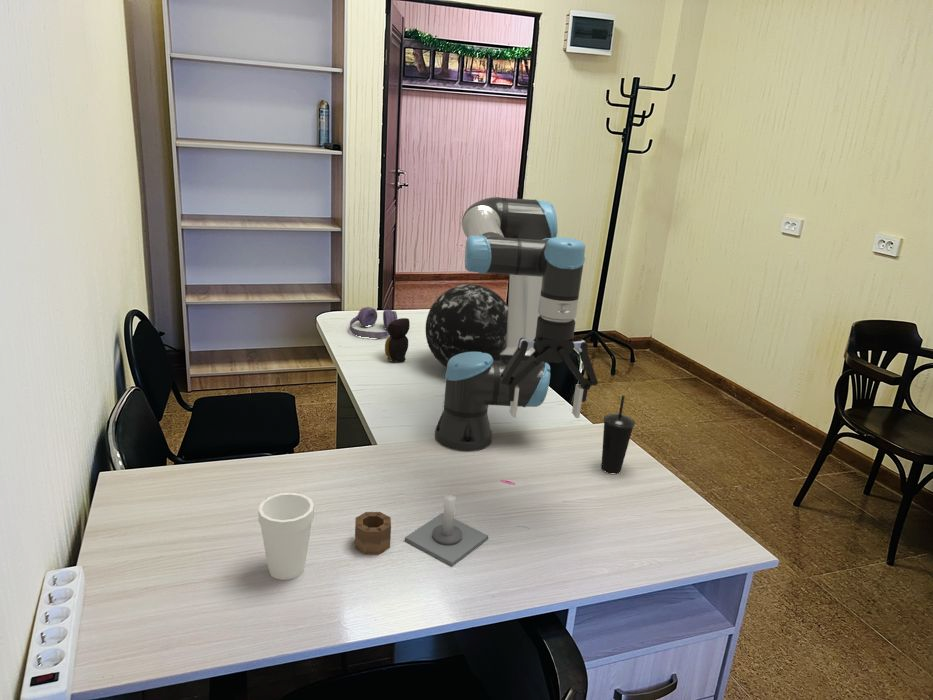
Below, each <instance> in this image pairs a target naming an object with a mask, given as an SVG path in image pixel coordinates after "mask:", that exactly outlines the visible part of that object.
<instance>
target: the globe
mask: <svg viewBox="0 0 933 700" xmlns="http://www.w3.org/2000/svg"><path fill="white" fill-rule="evenodd" d="M507 320H508V303H506V301H505V300H504V298H502V296H500V295H499V294H498V293H497V292H496V291H493V290H492V289H491V288H489V287H486V286H484V285H480V284H473V283H467V284H460V285H457V286H453V287H451V288H449V289H448V290H445V291H444V292H443V293H442V294H441V295H440V296H438V297H437V298H436V300H435V301H434V302H433V304H432V305H431V307H430V309H429V311H428V314H427V317H426V321H425V338H426V342H427V345H428V347H429V350H430V352H431V354H432V355H433V357H434V358H435V359H436V360H437V362H439V363H440V364H441V365H442V366H444V367H445V368H447V364H448V361H449V360H450V359H451V358H452V357H453V356H455V355H457V354H460V353H465V352H482V353H487V354H490V355H491V356H492V358H493V361H499V360H500V353H501V352H502V351H503V350H504V349H505V348H506V339H507Z"/></svg>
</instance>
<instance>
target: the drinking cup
mask: <svg viewBox="0 0 933 700" xmlns="http://www.w3.org/2000/svg"><path fill="white" fill-rule="evenodd" d="M625 397H626V396H625V395H622V396H621V399H620V406H619V410H618V411H619V412H618V413H609V414H606V415H604V416H603V419H602V420H603V422H604V423H603V433H602V434H603V436H602V451H601V453H602V454H601V470H602V469H603V470H604V471H606V472H608V473H607V474H609V473H616V474H615V475H618V474H620V473H621V472H622V468H623V465H624V461H625V457H626V453H627V450H628V446H629V443H630V440H631V435H632V432H633V429H634V427H635V425H636V422H635V420H634V419H633V418H631V417H630V416H627V415H626V414H623V410H624V409H623V408H624V404H625ZM603 470H602V471H603ZM604 471H603V472H604ZM620 471H621V472H620ZM606 472H605V473H606ZM619 472H620V473H619ZM617 473H618V474H617Z"/></svg>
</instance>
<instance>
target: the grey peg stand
mask: <svg viewBox="0 0 933 700" xmlns="http://www.w3.org/2000/svg"><path fill="white" fill-rule="evenodd" d="M456 500H457V497H456V496H455V495H453V494H447V495H445V496H444V500H443V501H444V503H443V512H442V513H440V514H438V515H437V516H435V517H434V518H432V519H431V520H429V521H428V522H426V523H425V524H423V525H421V526H419V527H418V528H417V529H415V530H414V531H412V532H411V533H409V534H408V535H406V536H405V537H404V542H407V543H408V544H410V545H412V547H413V546H414V547H416V548H417V549H418V550H421V551H423V552H424V553H427V554H428V555H430V556H432V557H434V558H435V559H437V560H440V561H441V562H443V563H445V564H447V565H449V566H450V567H453V566H455V565H456V564H458V563H459V562H461V560H462V559H464V558H465V557H466V556H468V555H469V554H471V553H472V552H473V551H475V550H476V549H478V547H480V546H481V545H483V543H485V542H486V541H487V540H489V535H488V534H486V533H484V532H482V531H481V530H478V529H476V528H474V527H472V526H470V525H468V524H466V523H465V522H461V521H460V520H458V519H456V518H455V515H456V514H455V512H456Z"/></svg>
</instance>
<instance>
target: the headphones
mask: <svg viewBox="0 0 933 700" xmlns="http://www.w3.org/2000/svg"><path fill="white" fill-rule="evenodd" d="M377 319H378V312H377V310H376V309H375V308H373V307H369V306H366V307H361V308H360V310H359V312H358V313H357V315H356V316H355V317H353V318H352V319H351V320H350V322H349V330H350V332H351V333H352V335H354V334H355V335H357V336H361V337H369V338H380V339H383V338H382V337H384V338H388V337H390V335H389V333H388V331H387V330H386V329H387V327H388V325H389V323H391V322H392V321H394V320H397V319H398V314H397V311H396V310H392V309H384V310H383V313H382V321H383V327H384V326H385V327H384V329H385V328H386V329H385V331H369V330H367V331H366V330H361V329H357V328H355V327H353V325H354V324H355V323H356V322H359V324H360V325H361V326H362V325H363V327H364V326H368V325H372V324H374V325H375V324H376V322H377ZM355 335H354V336H355ZM357 336H356V337H357Z"/></svg>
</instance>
